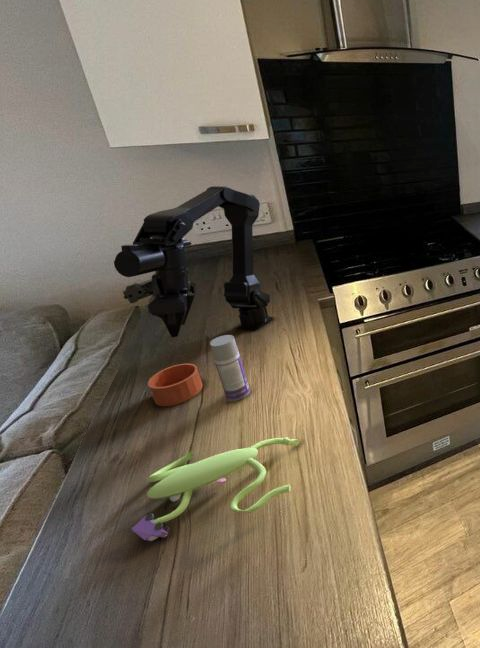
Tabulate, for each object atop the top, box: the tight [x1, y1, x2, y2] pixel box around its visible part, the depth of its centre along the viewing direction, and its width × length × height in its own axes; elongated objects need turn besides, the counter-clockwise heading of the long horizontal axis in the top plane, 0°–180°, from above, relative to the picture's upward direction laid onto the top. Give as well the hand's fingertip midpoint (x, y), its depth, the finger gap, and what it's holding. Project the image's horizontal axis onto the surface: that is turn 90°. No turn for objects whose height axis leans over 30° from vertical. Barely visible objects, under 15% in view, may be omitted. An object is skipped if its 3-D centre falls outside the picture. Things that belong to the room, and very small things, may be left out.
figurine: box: [131, 436, 301, 542], centre depth 78 cm, size 18×27×6 cm
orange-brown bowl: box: [147, 363, 204, 407], centre depth 103 cm, size 9×9×5 cm
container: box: [209, 334, 251, 402], centre depth 100 cm, size 5×5×15 cm
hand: (178, 330), depth 105 cm, fingers open, 9 cm apart
